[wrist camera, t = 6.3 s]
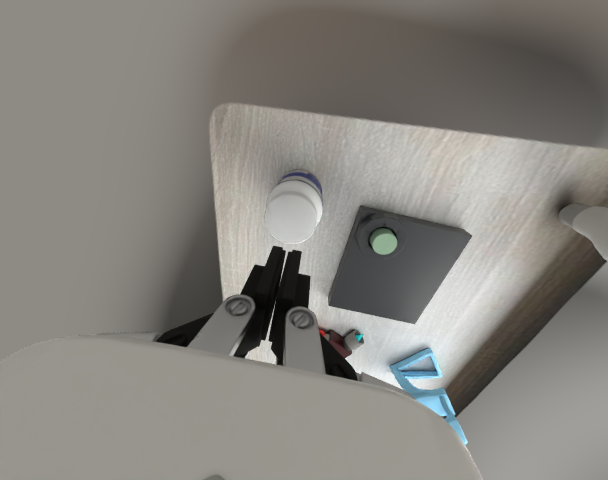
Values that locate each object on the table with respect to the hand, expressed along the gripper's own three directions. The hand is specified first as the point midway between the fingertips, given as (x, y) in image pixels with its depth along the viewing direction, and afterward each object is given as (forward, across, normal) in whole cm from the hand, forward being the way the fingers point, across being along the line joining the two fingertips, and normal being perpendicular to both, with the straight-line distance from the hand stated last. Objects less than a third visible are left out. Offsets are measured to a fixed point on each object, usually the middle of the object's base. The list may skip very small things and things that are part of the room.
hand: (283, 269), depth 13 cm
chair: (+17, -27, +28) cm, 43 cm away
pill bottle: (+17, +1, 0) cm, 17 cm away
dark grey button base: (+17, -14, +8) cm, 24 cm away
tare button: (+14, -10, +3) cm, 17 cm away
